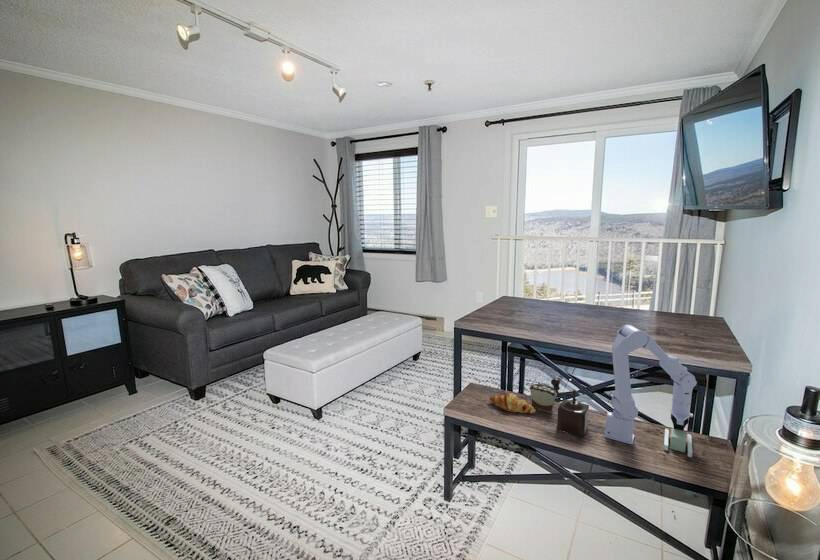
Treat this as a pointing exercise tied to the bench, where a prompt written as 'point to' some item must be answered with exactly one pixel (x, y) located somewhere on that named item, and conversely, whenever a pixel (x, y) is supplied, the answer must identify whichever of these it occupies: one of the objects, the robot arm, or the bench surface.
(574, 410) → the manual coffee grinder
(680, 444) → the block
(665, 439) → the channel
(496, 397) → the croissant
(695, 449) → the bench surface
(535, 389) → the food container
